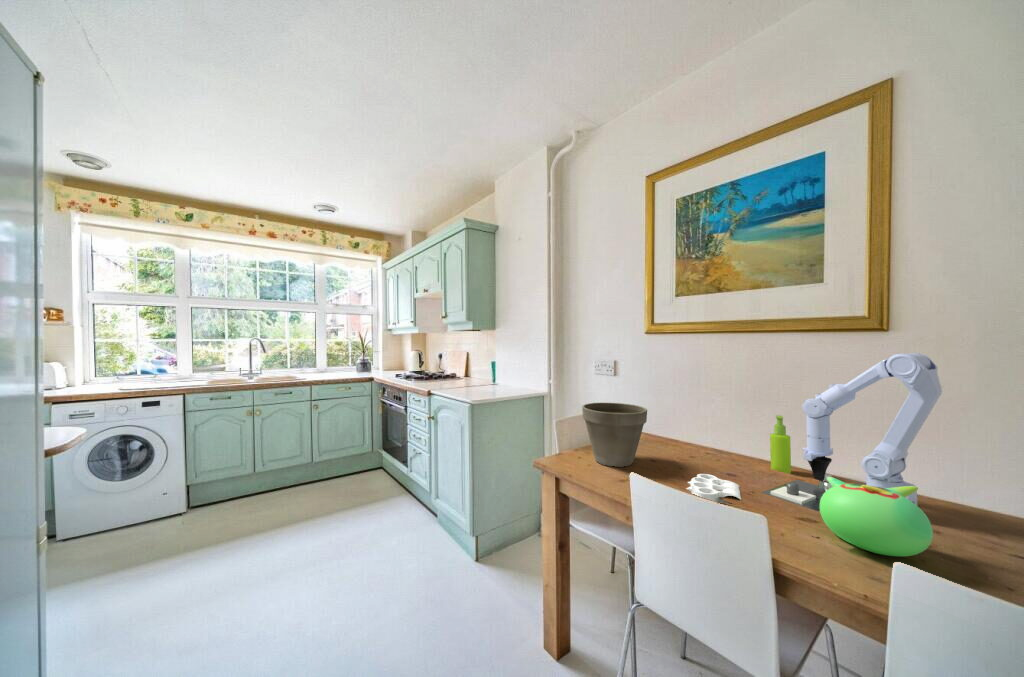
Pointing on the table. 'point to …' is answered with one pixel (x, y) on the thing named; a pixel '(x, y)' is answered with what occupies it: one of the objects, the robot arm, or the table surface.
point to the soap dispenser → (780, 448)
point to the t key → (825, 483)
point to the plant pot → (614, 431)
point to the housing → (805, 488)
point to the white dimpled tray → (713, 488)
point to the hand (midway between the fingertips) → (819, 479)
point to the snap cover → (793, 494)
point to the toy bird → (876, 518)
